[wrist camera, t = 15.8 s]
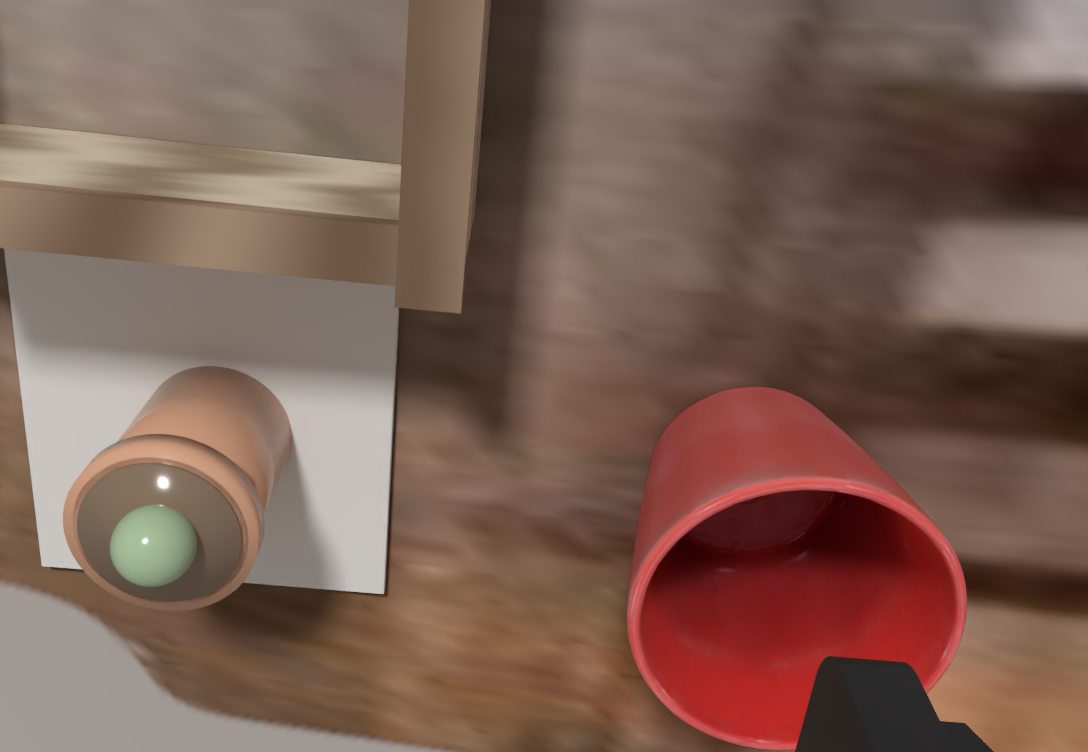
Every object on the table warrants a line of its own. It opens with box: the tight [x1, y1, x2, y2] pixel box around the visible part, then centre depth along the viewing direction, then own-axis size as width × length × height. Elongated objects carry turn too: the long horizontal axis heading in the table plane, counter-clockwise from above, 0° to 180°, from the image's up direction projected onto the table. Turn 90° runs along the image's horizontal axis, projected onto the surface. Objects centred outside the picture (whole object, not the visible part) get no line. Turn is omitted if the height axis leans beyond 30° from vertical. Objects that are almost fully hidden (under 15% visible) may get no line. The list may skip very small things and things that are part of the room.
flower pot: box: [626, 387, 967, 751], centre depth 37 cm, size 11×11×10 cm
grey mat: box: [4, 248, 399, 594], centre depth 40 cm, size 14×14×1 cm
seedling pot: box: [63, 366, 292, 611], centre depth 36 cm, size 6×6×9 cm
